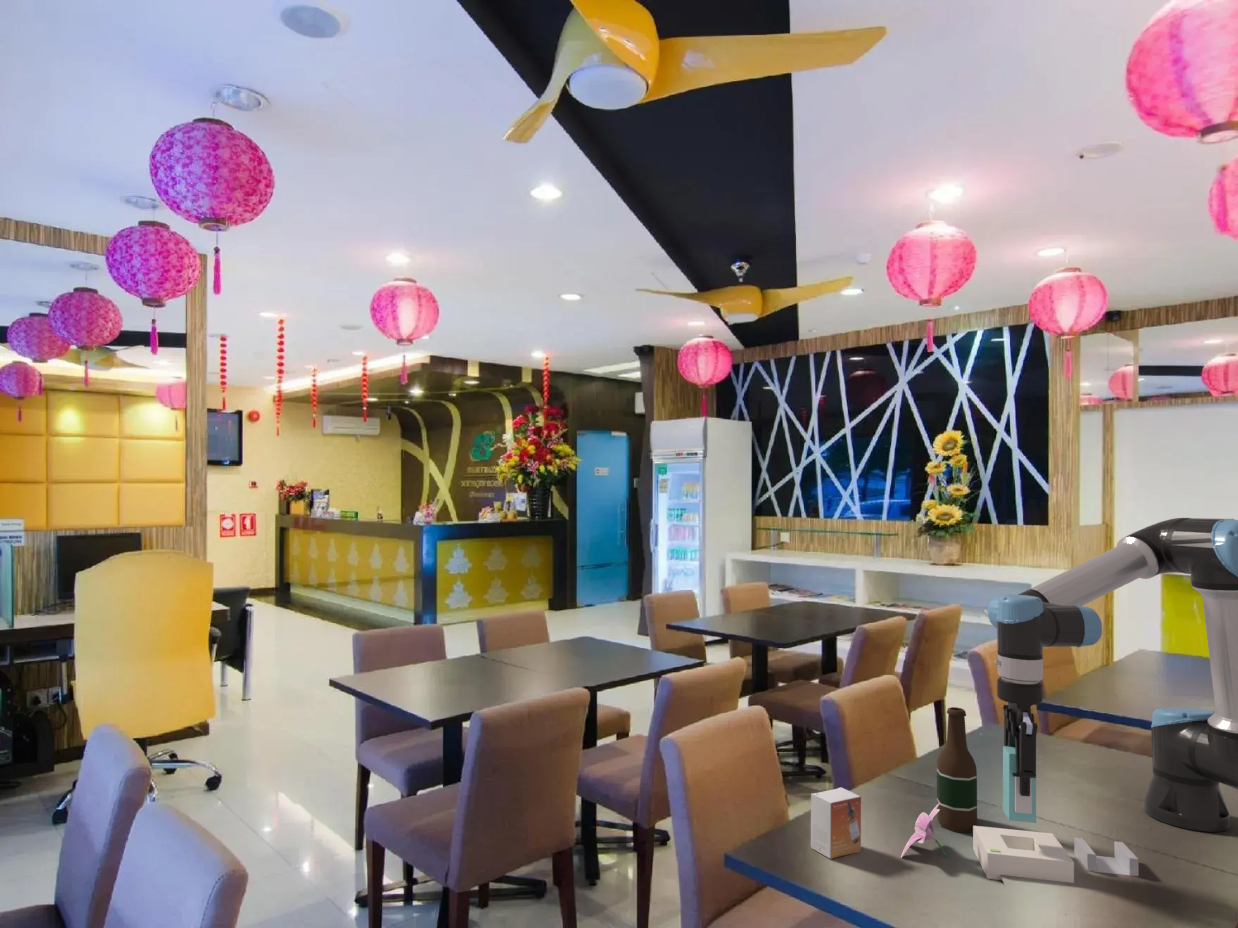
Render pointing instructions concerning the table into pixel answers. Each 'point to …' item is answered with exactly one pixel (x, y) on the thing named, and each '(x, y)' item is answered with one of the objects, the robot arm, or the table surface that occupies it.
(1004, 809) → the plug
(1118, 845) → the holster
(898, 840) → the table surface
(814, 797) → the small box
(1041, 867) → the port
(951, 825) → the beer bottle
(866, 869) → the table surface
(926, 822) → the lily
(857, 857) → the table surface
